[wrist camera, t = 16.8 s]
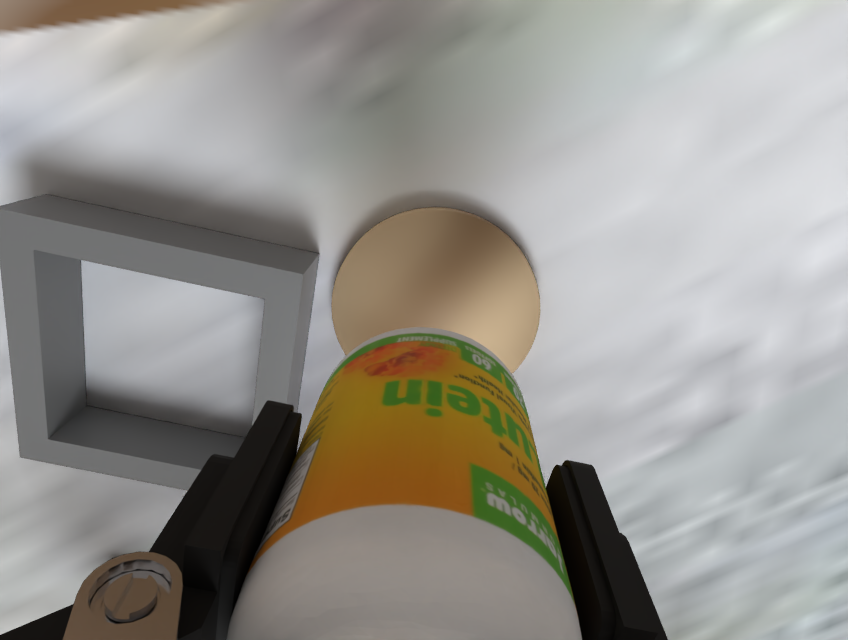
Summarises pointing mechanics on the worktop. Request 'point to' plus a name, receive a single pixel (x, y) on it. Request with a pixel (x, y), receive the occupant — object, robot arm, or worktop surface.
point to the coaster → (438, 283)
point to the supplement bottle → (412, 508)
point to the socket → (64, 340)
